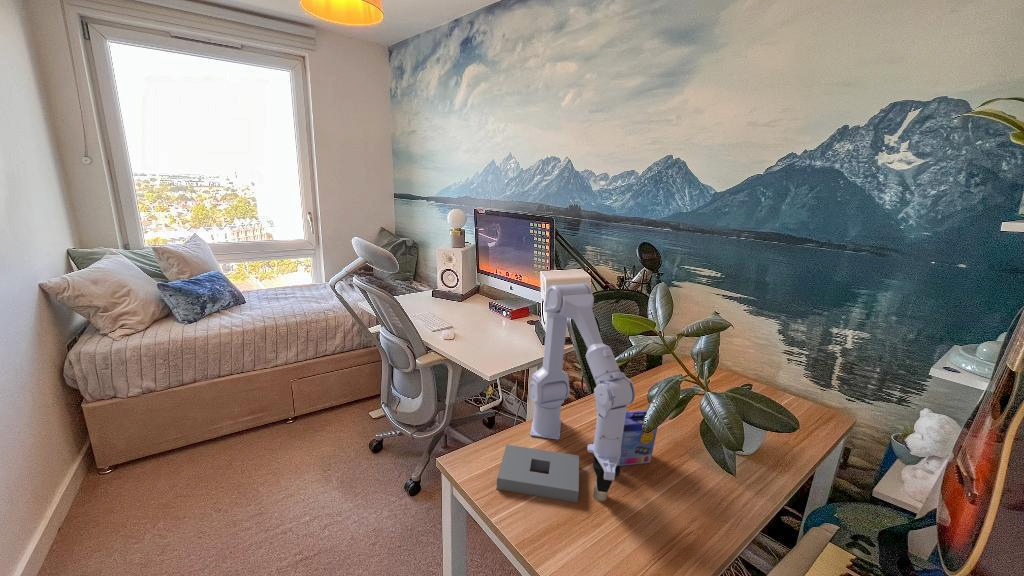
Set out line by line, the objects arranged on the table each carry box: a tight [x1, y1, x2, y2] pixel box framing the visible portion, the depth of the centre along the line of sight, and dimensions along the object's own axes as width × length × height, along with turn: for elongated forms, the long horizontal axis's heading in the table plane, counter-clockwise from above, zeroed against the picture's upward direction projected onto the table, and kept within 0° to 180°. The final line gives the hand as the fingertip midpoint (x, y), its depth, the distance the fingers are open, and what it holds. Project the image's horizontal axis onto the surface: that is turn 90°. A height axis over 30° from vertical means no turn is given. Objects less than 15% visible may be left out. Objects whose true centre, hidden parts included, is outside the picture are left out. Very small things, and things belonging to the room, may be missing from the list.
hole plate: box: [496, 444, 580, 504], centre depth 96 cm, size 12×18×3 cm, turn 81°
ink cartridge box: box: [619, 409, 659, 467], centre depth 103 cm, size 10×6×14 cm, turn 103°
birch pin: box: [592, 475, 609, 503], centre depth 91 cm, size 3×3×8 cm
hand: (601, 484), depth 91 cm, fingers closed on birch pin, 3 cm apart
